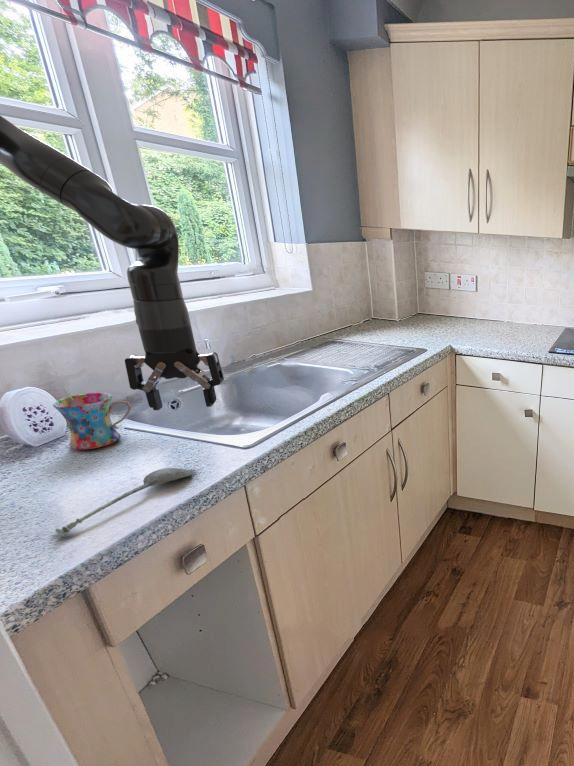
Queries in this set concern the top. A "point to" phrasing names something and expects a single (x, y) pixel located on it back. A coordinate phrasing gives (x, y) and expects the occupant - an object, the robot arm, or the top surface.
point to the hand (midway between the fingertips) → (184, 407)
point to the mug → (90, 419)
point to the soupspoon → (149, 480)
